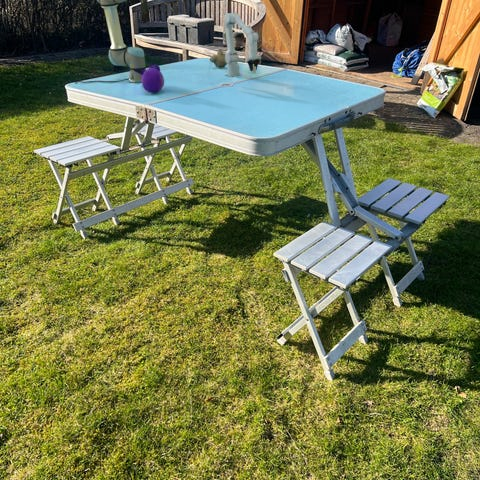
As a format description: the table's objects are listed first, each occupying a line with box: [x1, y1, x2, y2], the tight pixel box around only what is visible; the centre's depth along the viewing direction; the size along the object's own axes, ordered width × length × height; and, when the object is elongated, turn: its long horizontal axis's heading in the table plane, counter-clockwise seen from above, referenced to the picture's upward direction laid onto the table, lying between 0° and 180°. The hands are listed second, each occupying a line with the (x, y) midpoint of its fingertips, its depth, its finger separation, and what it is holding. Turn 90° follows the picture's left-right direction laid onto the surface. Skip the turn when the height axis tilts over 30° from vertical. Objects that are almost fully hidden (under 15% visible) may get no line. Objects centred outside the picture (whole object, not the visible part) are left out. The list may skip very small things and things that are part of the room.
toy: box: [134, 64, 165, 94], centre depth 304 cm, size 16×18×27 cm
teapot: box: [209, 48, 227, 69], centre depth 380 cm, size 21×12×15 cm, turn 120°
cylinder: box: [250, 65, 257, 74], centre depth 334 cm, size 4×4×4 cm
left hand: (146, 22), depth 360 cm, fingers open, 13 cm apart
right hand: (253, 70), depth 335 cm, fingers closed on cylinder, 4 cm apart
